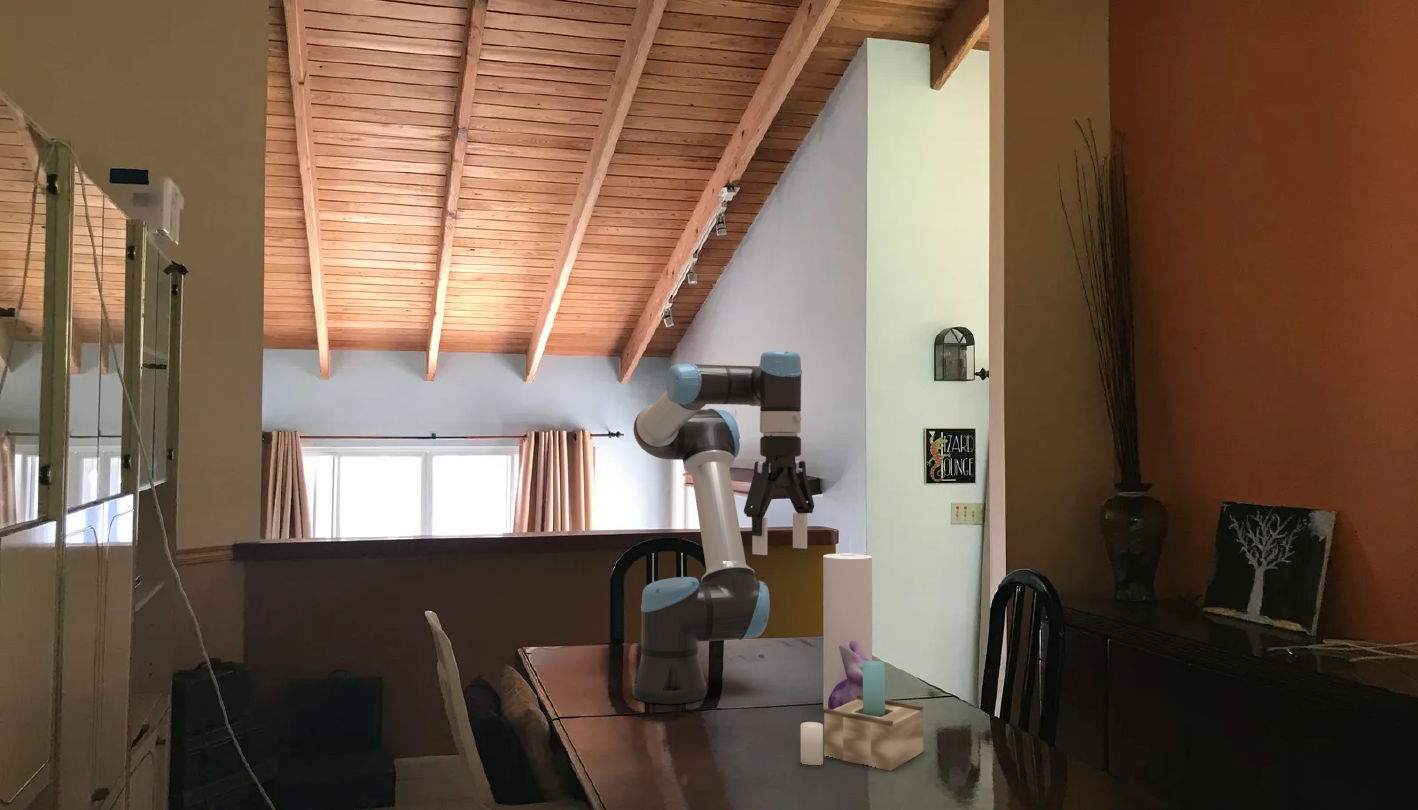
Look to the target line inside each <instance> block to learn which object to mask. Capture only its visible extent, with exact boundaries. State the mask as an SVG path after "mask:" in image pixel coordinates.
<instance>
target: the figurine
mask: <svg viewBox="0 0 1418 810" xmlns="http://www.w3.org/2000/svg"><path fill="white" fill-rule="evenodd" d="M839 649H840V653H841V657H842V661H843V665H844V669H845V673H846V676H847V679H845V680H843V681H841V682H840V683H839V684H837V685H836V686H835V688H834V689H833V691H832V693H831V695H830V697H829V700H828V709H832V710H833V709H835V708H838V707H840V706H842V705H845V704H847V703H849V702H852V701H854V700H856V699H857V695H863V662H864V661H870V660H869V659H868V658H867V657H866V656H865V655H864V653H863V651H862V649H861V648H860V646H859V644H858V643H857V642H856V641H854V640H851V641H850V643H849V647H847V646H846V645H840V646H839Z"/></svg>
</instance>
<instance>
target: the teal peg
mask: <svg viewBox="0 0 1418 810" xmlns="http://www.w3.org/2000/svg"><path fill="white" fill-rule="evenodd" d="M885 665H886V663H885V662H884V661H880V660H872V661H864V662H863V714H866V715H871V716H877V717H882V716H884V715H885V699H886V672H885V669H886V666H885Z"/></svg>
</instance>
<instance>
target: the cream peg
mask: <svg viewBox="0 0 1418 810" xmlns="http://www.w3.org/2000/svg"><path fill="white" fill-rule="evenodd" d="M823 724H824V723H820V722H815V721H807V722H806V721H805V722H802V723H801V724H800V764H801V763H802V764H801V765H803V764H808V765H820V766H822V765H823V763H824V725H823ZM821 764H822V765H821Z"/></svg>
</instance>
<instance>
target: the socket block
mask: <svg viewBox="0 0 1418 810" xmlns="http://www.w3.org/2000/svg"><path fill="white" fill-rule="evenodd" d="M823 711H824V712H823V714H824V715H823V717H824V718H823V722H824V723H823V724H824V725H823V757H826V756H829V757H828V758H830V757H833V758H832V759H835V758H836V759H835V760H839V759H840V761H844V762H849V763H853V764H858V765H862V764H864V765H863V766H866V765H868V767H871V766H872V767H871V768H875V767H876V768H875V769H880V770H885V771H889V772H891V771H893V770H895V769H896V768H898V767H901V766H902V765H904V764H905V763H907V762H908V761H910V760H912V759H913V758H915V757H918V756H919V755H920V754H922V753H924V706H923V705H918V704H914V703H909V702H908V703H907V702H902V701H895V700H890V699H887V698H885V715H884V716H882V717H877V716H871V715H866V714H863V695H857V699H856V700H854V701H852V702H849V703H847V704H845V705H842V706H840V707H838V708H835V709H833V710H832V709H824V708H823Z"/></svg>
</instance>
